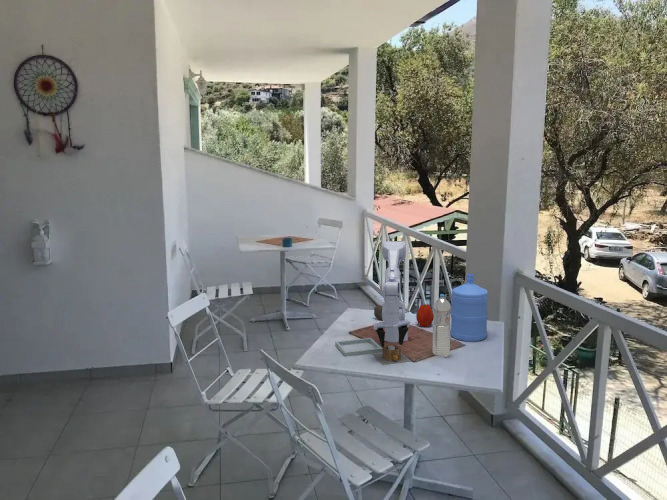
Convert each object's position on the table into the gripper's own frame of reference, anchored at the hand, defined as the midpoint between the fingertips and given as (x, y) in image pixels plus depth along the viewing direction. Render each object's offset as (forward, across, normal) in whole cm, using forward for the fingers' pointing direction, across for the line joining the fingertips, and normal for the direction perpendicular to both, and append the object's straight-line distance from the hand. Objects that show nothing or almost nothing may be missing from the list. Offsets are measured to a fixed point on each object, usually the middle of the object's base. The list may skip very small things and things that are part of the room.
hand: (391, 345), depth 210 cm
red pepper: (+6, +32, +37) cm, 49 cm away
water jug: (+6, +44, +17) cm, 47 cm away
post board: (+6, 0, 0) cm, 6 cm away
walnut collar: (+5, 0, -1) cm, 5 cm away
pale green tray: (+6, -9, +14) cm, 18 cm away
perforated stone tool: (+6, +19, +50) cm, 54 cm away
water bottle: (+6, +21, -1) cm, 22 cm away
